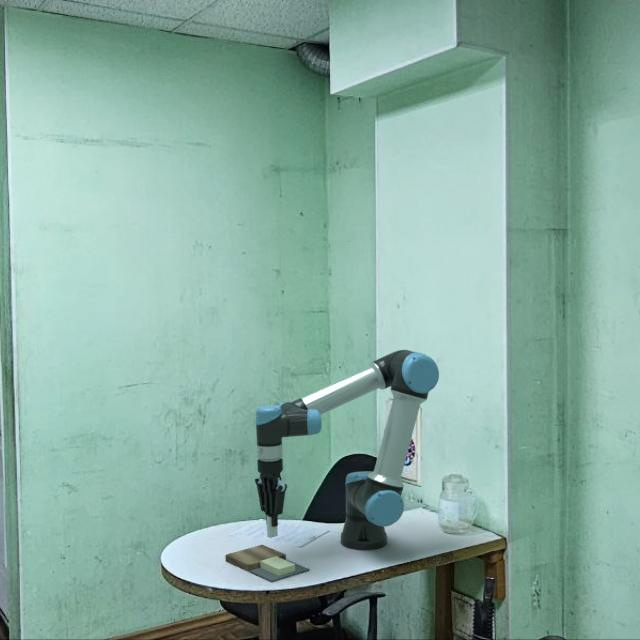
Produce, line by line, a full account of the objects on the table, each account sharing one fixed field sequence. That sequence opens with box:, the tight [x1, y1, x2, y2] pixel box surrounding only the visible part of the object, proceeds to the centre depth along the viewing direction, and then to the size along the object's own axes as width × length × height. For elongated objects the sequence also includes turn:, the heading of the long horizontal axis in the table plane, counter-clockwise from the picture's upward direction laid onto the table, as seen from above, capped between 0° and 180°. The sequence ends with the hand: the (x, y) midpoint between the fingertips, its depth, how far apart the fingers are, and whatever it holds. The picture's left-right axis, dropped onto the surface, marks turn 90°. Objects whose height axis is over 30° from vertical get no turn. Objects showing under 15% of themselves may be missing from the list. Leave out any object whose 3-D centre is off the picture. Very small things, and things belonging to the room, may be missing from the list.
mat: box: [249, 559, 310, 583], centre depth 246 cm, size 14×10×1 cm
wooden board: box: [225, 544, 287, 573], centre depth 255 cm, size 14×12×2 cm
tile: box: [260, 556, 295, 576], centre depth 246 cm, size 9×6×2 cm, turn 40°
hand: (272, 536), depth 249 cm, fingers closed
